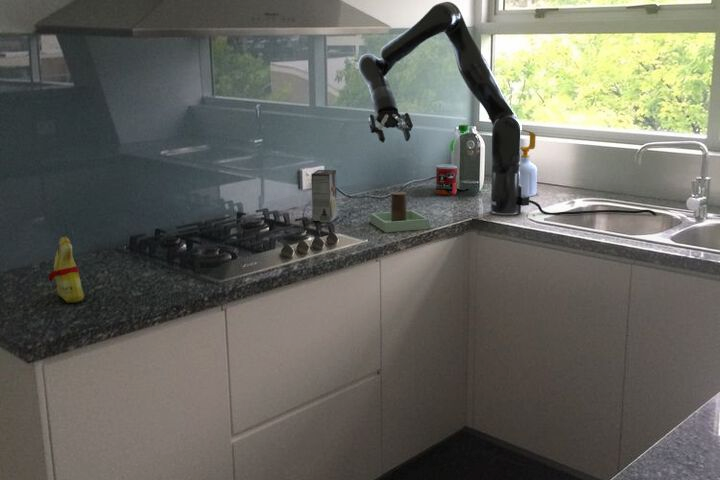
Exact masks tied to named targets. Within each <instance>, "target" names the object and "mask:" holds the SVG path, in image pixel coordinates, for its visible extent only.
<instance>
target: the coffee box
mask: <svg viewBox="0 0 720 480" xmlns="http://www.w3.org/2000/svg"><path fill="white" fill-rule="evenodd" d="M310 174H311V208H312V221H313V220H316V219H318V220H320V221H321V222H320V223H332V222H333V221H334V220H335V219H336V218H337V217H338V201H337V200H338V199H337V198H338V197H337V195H338V194H337V169H318V170H315V171H314V172H312V173H310Z"/></svg>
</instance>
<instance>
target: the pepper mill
mask: <svg viewBox="0 0 720 480" xmlns="http://www.w3.org/2000/svg"><path fill="white" fill-rule="evenodd" d="M406 211H407V192H406V191H393V192H391V193H390V212H391V222H394V221H406Z"/></svg>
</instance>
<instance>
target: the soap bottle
mask: <svg viewBox="0 0 720 480" xmlns="http://www.w3.org/2000/svg"><path fill="white" fill-rule="evenodd" d="M521 132H525V133H527V134H529V145H528V146H520V150H521V152H522V154H520V178H519V185H521V186H522V191H521V195H525V196H527V197H534V196H536V195H537V187H538V186H537V185H538V184H537V182H538V168H537V167H538V166H536V164H534V163H532V161H531V155H530V154H529V152H530V150H534V149H535V147H536V138H537V137H536V133H534V132H533V131H528V130H526V129H522V130H521Z"/></svg>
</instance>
